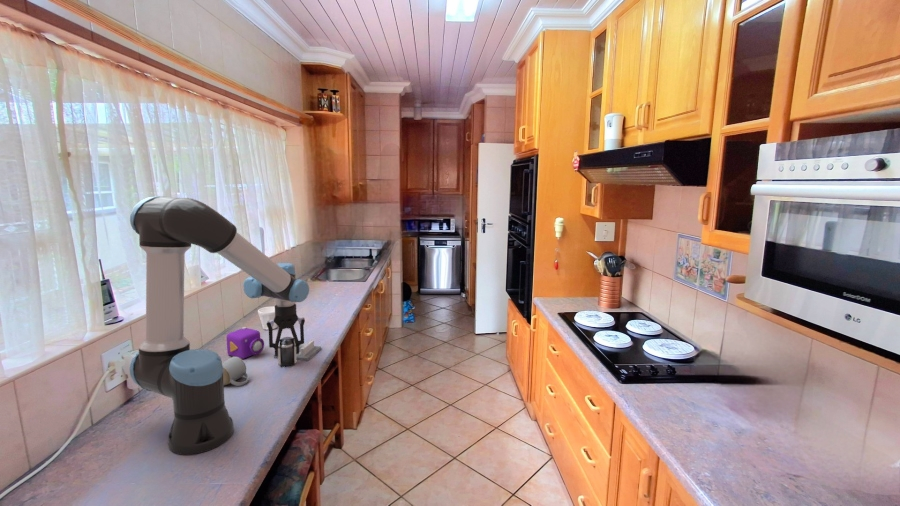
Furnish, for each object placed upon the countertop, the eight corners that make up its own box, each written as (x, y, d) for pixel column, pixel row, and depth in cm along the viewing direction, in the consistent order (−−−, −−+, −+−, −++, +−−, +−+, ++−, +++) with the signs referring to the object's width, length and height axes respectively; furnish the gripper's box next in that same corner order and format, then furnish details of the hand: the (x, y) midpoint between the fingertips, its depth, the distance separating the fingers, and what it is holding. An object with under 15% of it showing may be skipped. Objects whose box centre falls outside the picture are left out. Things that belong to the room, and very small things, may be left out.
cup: (281, 330, 190) (280, 311, 189) (257, 332, 186) (257, 313, 185) (281, 323, 199) (281, 305, 198) (259, 325, 196) (258, 307, 194)
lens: (290, 367, 153) (289, 342, 151) (277, 366, 154) (276, 340, 152) (297, 362, 158) (296, 336, 156) (285, 360, 159) (284, 335, 157)
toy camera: (253, 362, 157) (252, 337, 155) (223, 358, 160) (221, 334, 158) (271, 351, 167) (270, 328, 166) (242, 347, 170) (240, 324, 168)
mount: (307, 361, 159) (307, 351, 158) (274, 358, 161) (273, 348, 160) (321, 349, 171) (320, 339, 170) (289, 346, 173) (289, 337, 172)
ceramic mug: (211, 385, 139) (210, 364, 137) (229, 374, 146) (228, 354, 145) (237, 390, 136) (236, 369, 135) (254, 379, 144) (254, 359, 143)
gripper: (258, 309, 145) (261, 370, 149) (311, 305, 152) (312, 363, 156) (259, 303, 152) (262, 361, 156) (310, 299, 159) (311, 355, 163)
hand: (287, 362), depth 156 cm, fingers closed on lens, 5 cm apart
